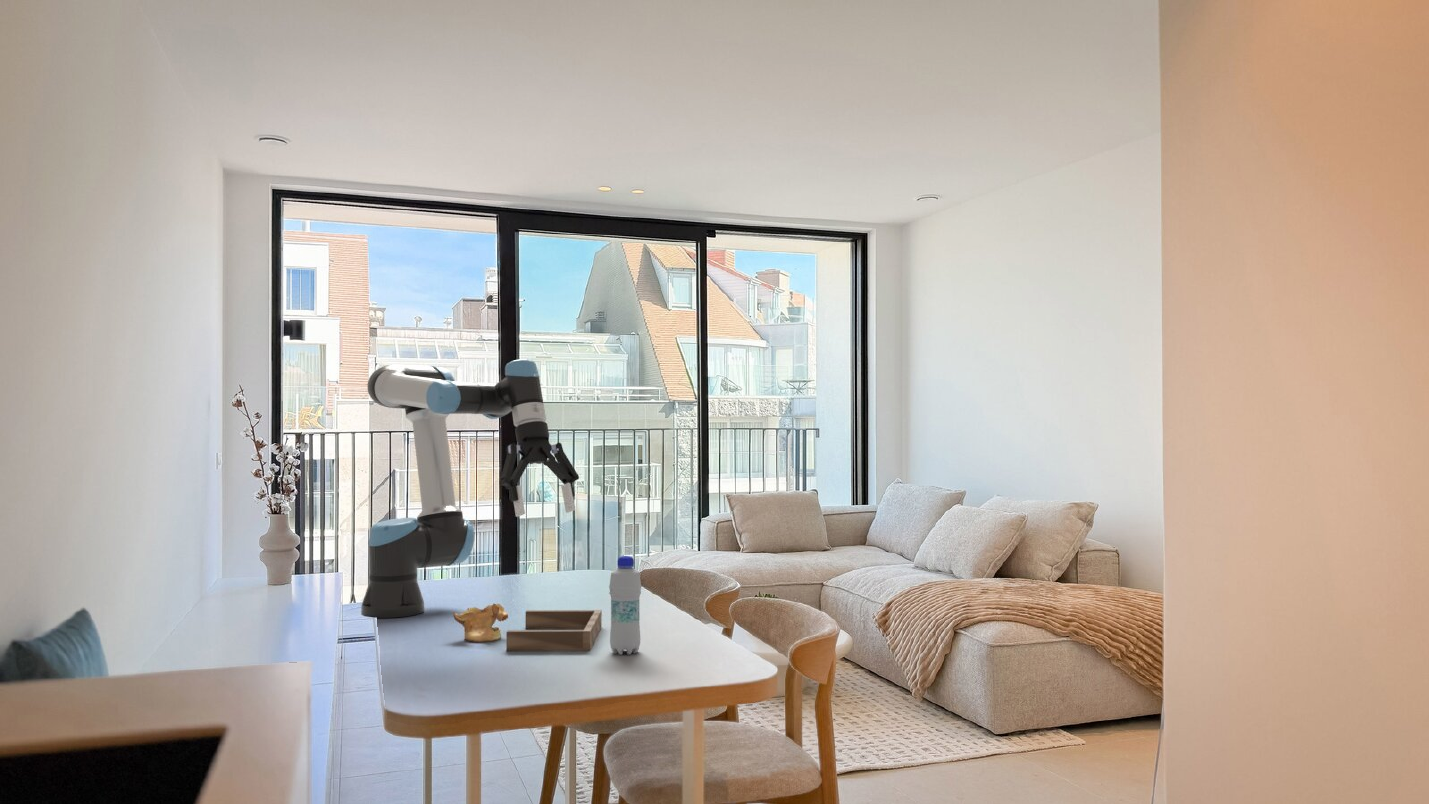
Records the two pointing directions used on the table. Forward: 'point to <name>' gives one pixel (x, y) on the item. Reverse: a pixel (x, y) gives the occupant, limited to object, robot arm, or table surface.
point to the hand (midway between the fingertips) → (546, 513)
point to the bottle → (625, 607)
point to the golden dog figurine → (481, 623)
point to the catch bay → (556, 631)
